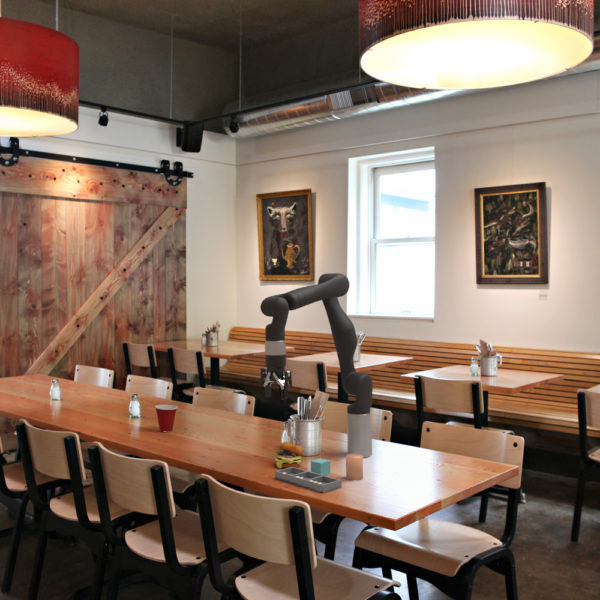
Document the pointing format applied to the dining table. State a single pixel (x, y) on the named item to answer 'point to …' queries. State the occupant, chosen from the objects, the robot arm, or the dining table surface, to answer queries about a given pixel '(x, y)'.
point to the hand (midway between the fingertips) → (276, 398)
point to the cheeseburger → (289, 455)
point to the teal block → (320, 466)
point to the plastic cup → (166, 416)
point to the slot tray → (308, 479)
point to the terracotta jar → (354, 467)
